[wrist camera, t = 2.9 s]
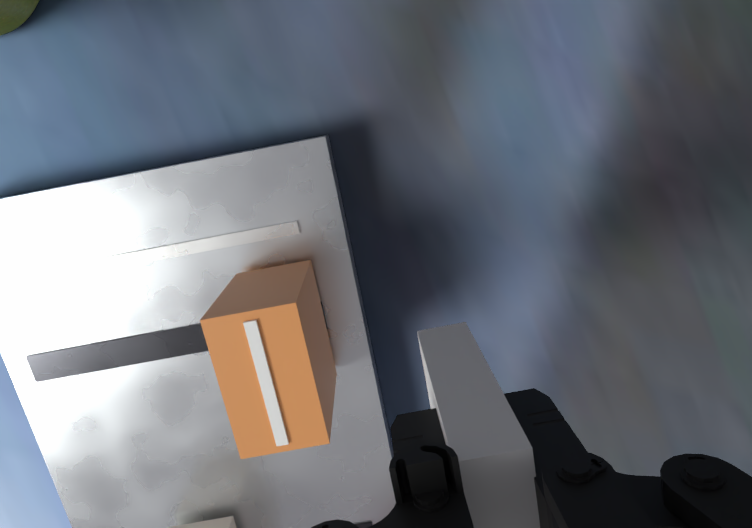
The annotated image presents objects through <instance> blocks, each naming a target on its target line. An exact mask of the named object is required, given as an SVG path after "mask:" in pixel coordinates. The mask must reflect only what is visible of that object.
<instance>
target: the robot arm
mask: <svg viewBox="0 0 752 528" xmlns="http://www.w3.org/2000/svg"><path fill="white" fill-rule="evenodd" d="M417 334H418V340H419V345H420V351H421V357H422V362H423V368H424V373H425V379H426V384H427V390H428V396H429V401H430V407H431V409H428V410H422V411H417V412H411V413H406V414H401V415H397V417H396V419H395V421H394V422H393V424H392V426H391V436H392V445H393V453H394V457H393V458H392V459H391V461H390V466H389V472H390V477H391V482H392V486H393V491H394V496H395V501H396V504H395V506H394V508H393V509H392V510H391V512H390V513H389V514H388V515H387V516H386V517H385V518H383V519H382V520H381V521H379V522H377V523H376V524H374V525H372V526H370V527H368V528H752V477H751V476H749V475H748V474H746V473H745V472H743V471H741V470H740V469H738V468H737V467H735V466H733V465H732V464H730V463H727V462H725V461H723V460H721V459H719V458H716V457H712V456H707V455H703V454H683V455H678V456H673V457H672V458H670V459H668V460H667V461H665V462H664V463H663V465H662V468H661V470H660V474H661V477H655V476H635V475H626V474H621V473H618V472H615V470H614V469H613V468H612V466H611V465H610V464H609V463H608V462H606V461H605V460H604V459H603V458H601V457H599V456H596V455H594V454H592V453H588V452H587V451H586V449H585V448H584V446H583V445H582V444H581V442H580V441H579V439H578V438H577V436H576V435H575V433H574V432H573V430H572V429H571V428H570V426H569V425H568V423H567V422H566V421H565V420H564V417H563V416H562V415H561V413H560V412H559V411H558V409H557V407H556V406H555V404H554V403H553V402H552V400H551V399H550V397H548V396H547V395H545V394H543V393H541V392H540V391H538V390H536V389H534V388H533V389H528V390H523V391H517V392H512V393H506V394H503V392H502V390H501V388H500V386H499V384H498V382H497V380H496V379H495V377H494V375H493V373H492V371H491V369H490V367H489V365H488V364H487V362H486V360H485V358H484V356H483V354H482V352H481V350H480V349H479V347H478V345H477V343H476V341H475V339H474V337H473V335H472V334H471V332H470V330H469V328H468V326H467V324H466V322H463V323H458V324H452V325H447V326H442V327H436V328H431V329H426V330H420V331H417ZM311 528H359V527H358V526H356V525H355V524H353V523H352V522H350V521H345V520H338V519H337V520H330V521H324V522H322V523H320V524H317V525H315V526H313V527H311Z"/></svg>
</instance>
